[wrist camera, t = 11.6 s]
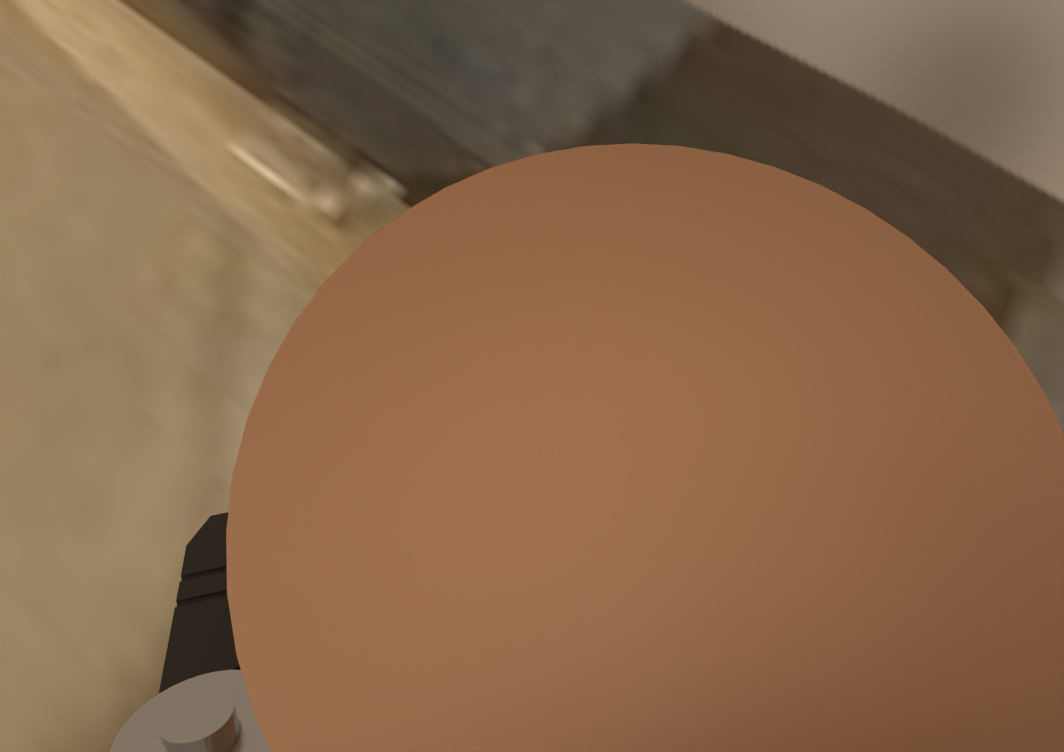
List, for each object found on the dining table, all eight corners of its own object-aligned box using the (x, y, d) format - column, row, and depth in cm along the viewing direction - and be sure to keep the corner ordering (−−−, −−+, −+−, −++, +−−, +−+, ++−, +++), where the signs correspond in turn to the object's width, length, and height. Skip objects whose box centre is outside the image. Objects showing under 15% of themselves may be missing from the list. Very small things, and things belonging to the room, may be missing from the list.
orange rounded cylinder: (475, 517, 16) (551, 22, 5) (670, 652, 16) (1214, 413, 5) (330, 720, 15) (17, 630, 4) (539, 876, 14) (876, 1288, 3)
